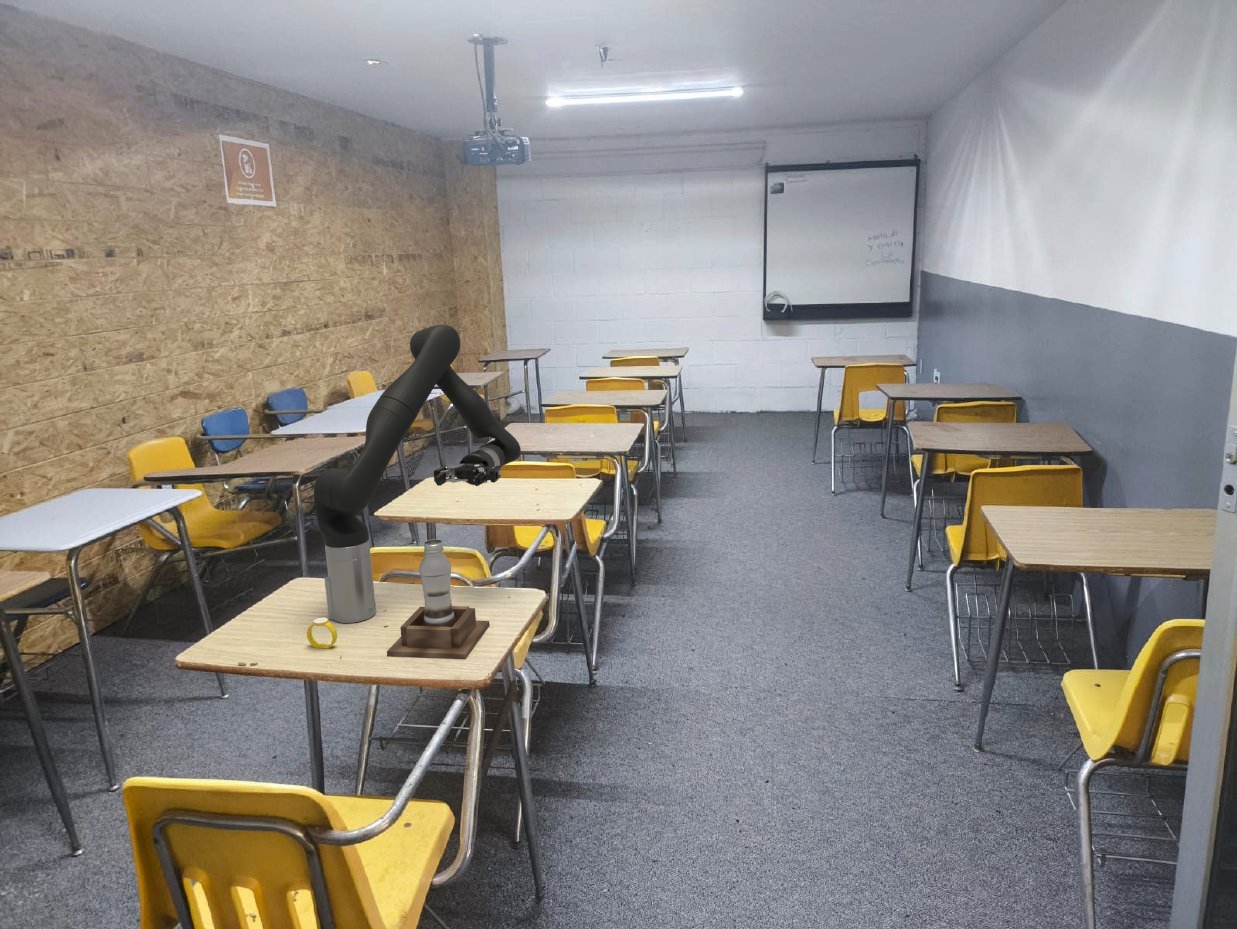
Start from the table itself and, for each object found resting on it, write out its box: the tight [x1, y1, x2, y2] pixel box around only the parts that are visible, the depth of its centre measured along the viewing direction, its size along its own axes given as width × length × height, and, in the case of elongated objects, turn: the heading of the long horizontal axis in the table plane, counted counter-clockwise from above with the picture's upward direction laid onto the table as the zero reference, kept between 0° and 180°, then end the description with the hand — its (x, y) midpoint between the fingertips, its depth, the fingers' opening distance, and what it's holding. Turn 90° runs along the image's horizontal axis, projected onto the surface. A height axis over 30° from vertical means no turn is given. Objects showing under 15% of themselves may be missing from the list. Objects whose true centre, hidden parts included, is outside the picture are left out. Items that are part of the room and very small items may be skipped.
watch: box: [306, 617, 338, 650], centre depth 160 cm, size 6×3×6 cm, turn 80°
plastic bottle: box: [418, 538, 456, 627], centre depth 160 cm, size 6×7×20 cm
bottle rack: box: [386, 605, 491, 660], centre depth 162 cm, size 16×16×5 cm
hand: (457, 481), depth 170 cm, fingers open, 8 cm apart
